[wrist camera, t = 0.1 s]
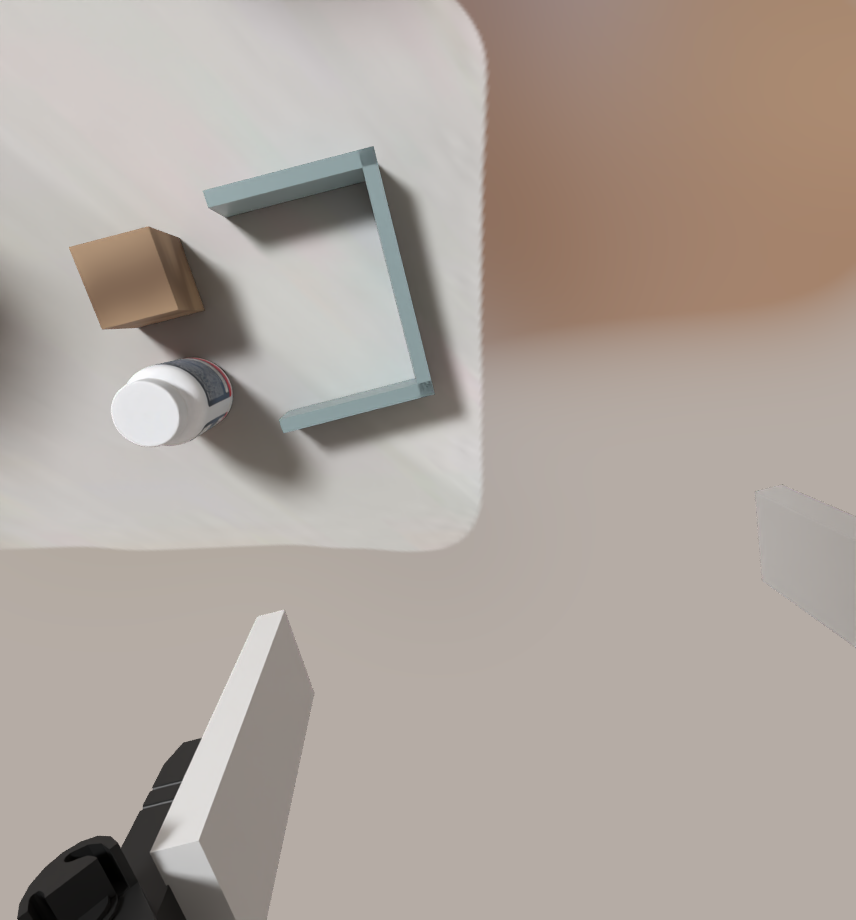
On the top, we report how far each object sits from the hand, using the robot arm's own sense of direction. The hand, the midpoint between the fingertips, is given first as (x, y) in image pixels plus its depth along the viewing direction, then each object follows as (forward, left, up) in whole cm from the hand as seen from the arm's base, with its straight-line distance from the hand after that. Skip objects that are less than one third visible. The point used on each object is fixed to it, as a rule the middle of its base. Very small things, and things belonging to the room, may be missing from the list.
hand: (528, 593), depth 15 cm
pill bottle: (-6, -17, -28) cm, 34 cm away
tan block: (-14, -17, -28) cm, 36 cm away
